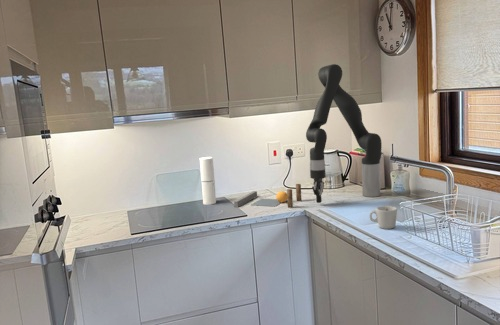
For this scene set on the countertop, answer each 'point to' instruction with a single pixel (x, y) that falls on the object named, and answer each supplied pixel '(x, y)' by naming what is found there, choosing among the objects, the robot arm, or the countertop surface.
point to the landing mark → (267, 202)
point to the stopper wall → (245, 199)
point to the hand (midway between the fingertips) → (319, 202)
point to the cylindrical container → (207, 180)
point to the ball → (281, 196)
